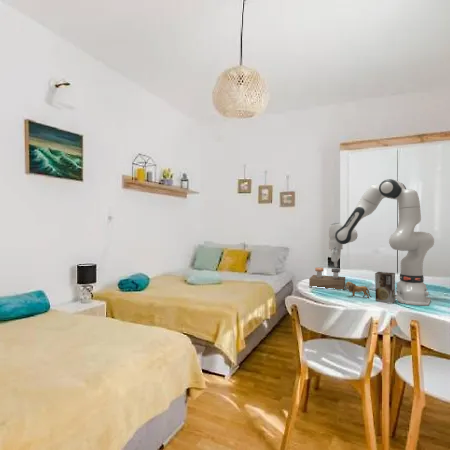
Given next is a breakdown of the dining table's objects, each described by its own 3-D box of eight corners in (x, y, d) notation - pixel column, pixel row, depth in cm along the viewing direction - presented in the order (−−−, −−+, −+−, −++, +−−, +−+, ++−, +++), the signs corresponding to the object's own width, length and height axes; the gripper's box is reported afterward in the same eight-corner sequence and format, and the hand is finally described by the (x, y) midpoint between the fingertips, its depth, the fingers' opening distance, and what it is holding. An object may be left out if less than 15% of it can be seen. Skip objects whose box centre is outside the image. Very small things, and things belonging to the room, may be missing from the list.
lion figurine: (345, 297, 189) (345, 282, 189) (345, 295, 194) (345, 280, 194) (372, 299, 184) (372, 283, 184) (371, 297, 189) (371, 282, 189)
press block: (343, 290, 207) (343, 281, 207) (309, 287, 217) (309, 278, 217) (345, 285, 222) (345, 276, 222) (313, 283, 231) (313, 274, 231)
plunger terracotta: (322, 280, 218) (322, 268, 218) (314, 279, 220) (314, 268, 220) (324, 278, 223) (324, 267, 223) (315, 278, 225) (315, 267, 225)
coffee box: (395, 301, 178) (395, 272, 178) (392, 303, 174) (392, 274, 173) (378, 298, 184) (378, 271, 184) (374, 300, 180) (374, 272, 179)
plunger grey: (339, 281, 213) (339, 269, 213) (331, 280, 216) (331, 269, 215) (340, 280, 218) (340, 268, 218) (332, 279, 221) (332, 268, 220)
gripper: (339, 248, 206) (339, 269, 206) (341, 245, 224) (342, 264, 225) (328, 247, 208) (329, 268, 209) (332, 245, 227) (332, 264, 227)
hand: (335, 266), depth 217 cm, fingers closed
